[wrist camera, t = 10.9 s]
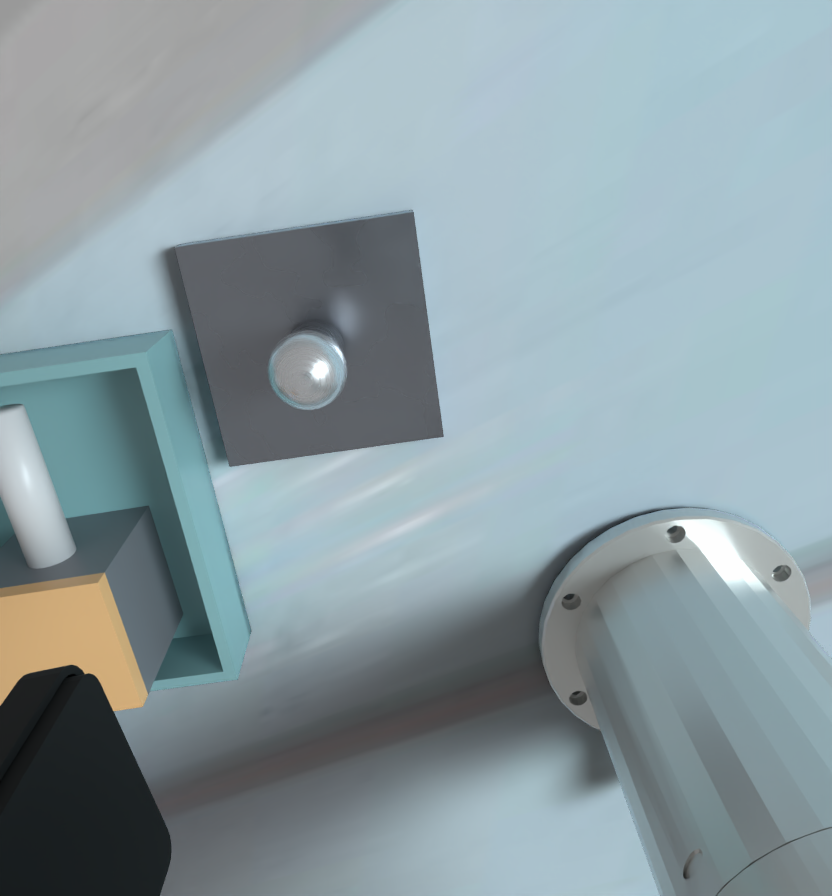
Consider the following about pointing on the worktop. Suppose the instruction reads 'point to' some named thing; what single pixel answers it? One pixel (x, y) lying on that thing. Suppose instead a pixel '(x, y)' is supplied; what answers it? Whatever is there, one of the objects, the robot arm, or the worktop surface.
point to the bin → (138, 477)
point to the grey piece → (314, 337)
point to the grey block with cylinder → (78, 581)
